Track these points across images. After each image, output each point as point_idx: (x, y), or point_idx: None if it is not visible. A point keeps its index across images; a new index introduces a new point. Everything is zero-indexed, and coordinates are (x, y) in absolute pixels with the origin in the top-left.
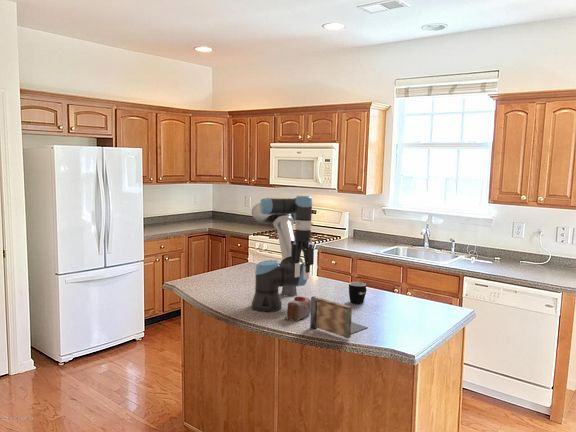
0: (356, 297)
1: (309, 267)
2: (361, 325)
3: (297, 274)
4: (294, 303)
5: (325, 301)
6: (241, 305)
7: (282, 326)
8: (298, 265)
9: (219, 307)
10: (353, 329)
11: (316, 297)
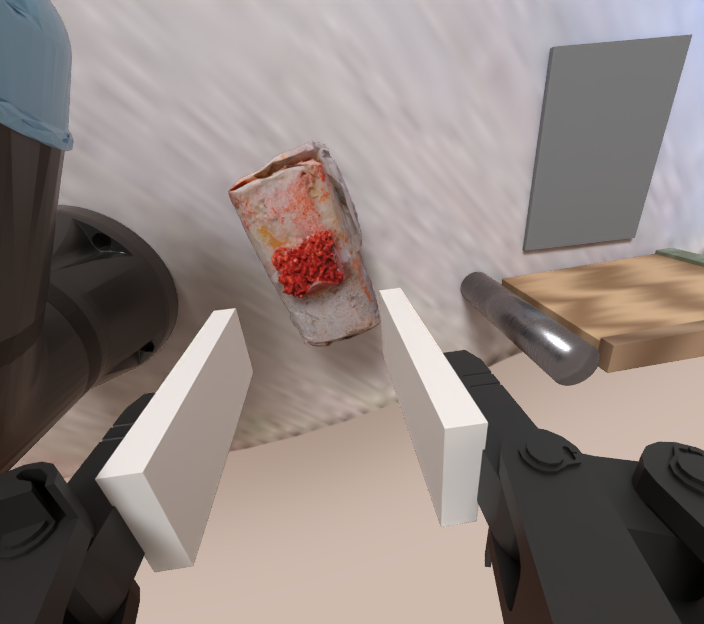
0: None
1: (522, 420)
2: (650, 43)
3: (238, 368)
4: (353, 334)
5: (678, 359)
6: None
7: (376, 372)
8: (185, 468)
9: (24, 457)
10: (636, 144)
11: (588, 357)
